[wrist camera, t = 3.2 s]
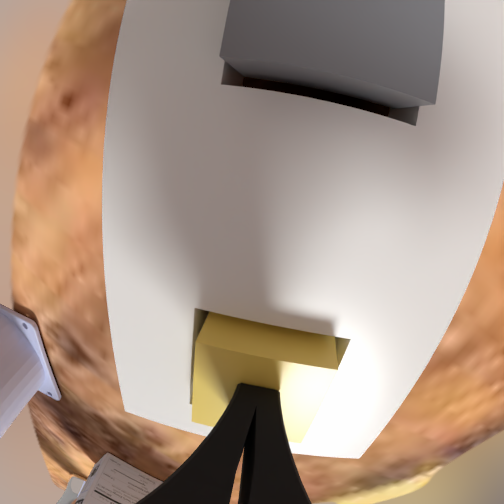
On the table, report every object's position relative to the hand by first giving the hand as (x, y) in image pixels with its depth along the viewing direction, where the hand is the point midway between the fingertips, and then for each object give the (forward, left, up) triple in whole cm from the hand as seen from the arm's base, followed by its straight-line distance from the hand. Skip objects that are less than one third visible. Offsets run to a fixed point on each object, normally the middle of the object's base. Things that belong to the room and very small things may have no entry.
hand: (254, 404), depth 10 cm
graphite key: (0, +12, -2) cm, 12 cm away
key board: (0, +6, -4) cm, 7 cm away
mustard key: (0, 0, -3) cm, 3 cm away
